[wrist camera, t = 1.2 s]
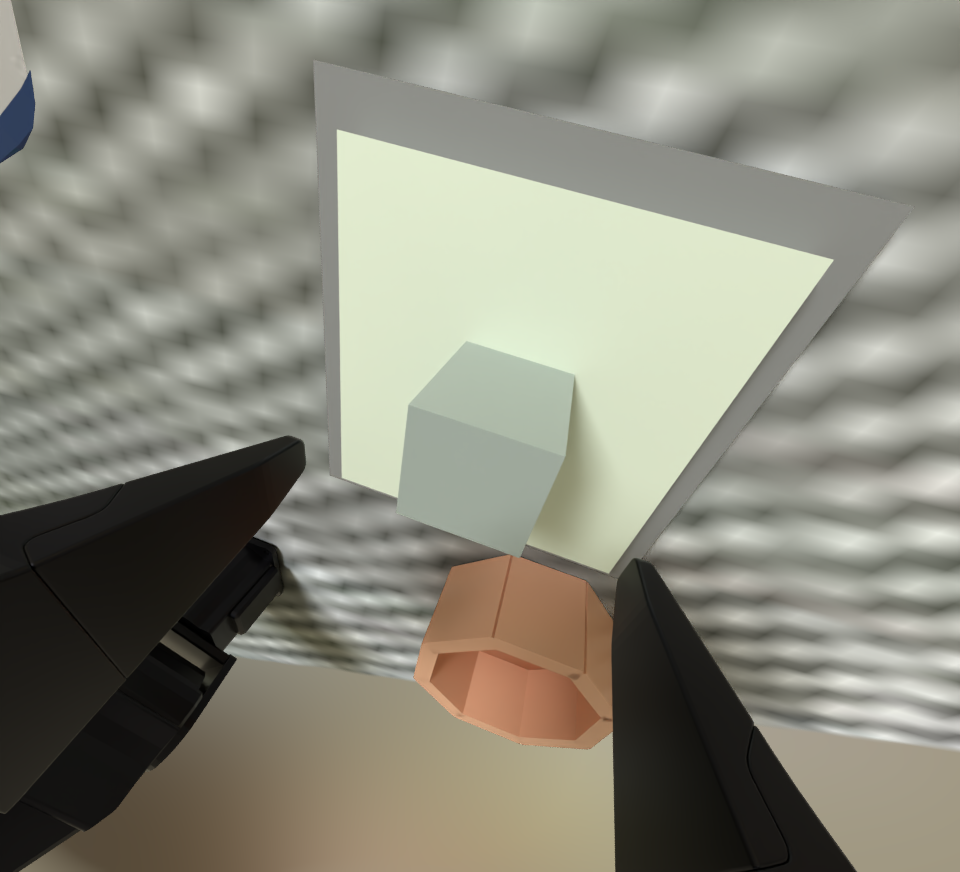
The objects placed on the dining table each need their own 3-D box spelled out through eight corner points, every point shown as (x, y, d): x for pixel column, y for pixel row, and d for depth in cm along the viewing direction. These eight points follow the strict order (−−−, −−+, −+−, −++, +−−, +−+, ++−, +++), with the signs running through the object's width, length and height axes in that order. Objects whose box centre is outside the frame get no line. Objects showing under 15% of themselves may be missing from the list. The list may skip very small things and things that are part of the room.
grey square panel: (337, 466, 21) (329, 475, 21) (329, 67, 12) (313, 59, 11) (623, 568, 20) (624, 581, 19) (893, 206, 10) (914, 206, 9)
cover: (354, 464, 20) (271, 554, 15) (358, 135, 12) (177, 84, 7) (607, 554, 18) (613, 687, 13) (811, 253, 10) (1018, 305, 5)
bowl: (435, 625, 28) (408, 697, 24) (460, 535, 22) (429, 612, 18) (573, 679, 27) (569, 764, 23) (642, 601, 21) (654, 699, 17)
